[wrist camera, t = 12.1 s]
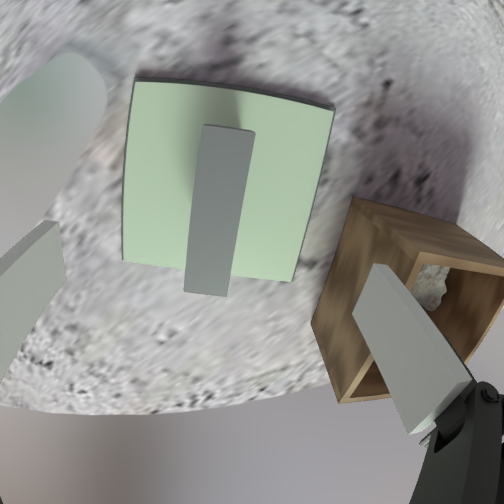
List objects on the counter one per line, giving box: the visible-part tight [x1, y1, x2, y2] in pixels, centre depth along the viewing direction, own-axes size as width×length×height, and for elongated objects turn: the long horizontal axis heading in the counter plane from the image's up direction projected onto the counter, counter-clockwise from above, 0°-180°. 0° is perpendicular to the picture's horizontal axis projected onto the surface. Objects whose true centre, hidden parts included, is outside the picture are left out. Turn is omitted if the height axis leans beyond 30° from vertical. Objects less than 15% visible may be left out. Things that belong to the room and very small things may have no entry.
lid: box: [123, 82, 334, 297], centre depth 21 cm, size 17×17×9 cm
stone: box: [410, 263, 450, 311], centre depth 29 cm, size 8×10×6 cm
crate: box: [311, 197, 504, 404], centre depth 27 cm, size 16×16×12 cm
